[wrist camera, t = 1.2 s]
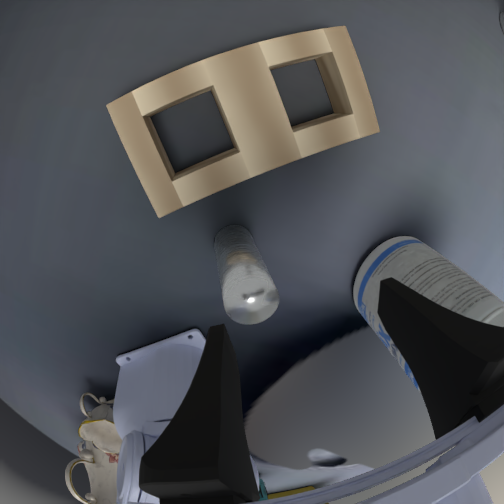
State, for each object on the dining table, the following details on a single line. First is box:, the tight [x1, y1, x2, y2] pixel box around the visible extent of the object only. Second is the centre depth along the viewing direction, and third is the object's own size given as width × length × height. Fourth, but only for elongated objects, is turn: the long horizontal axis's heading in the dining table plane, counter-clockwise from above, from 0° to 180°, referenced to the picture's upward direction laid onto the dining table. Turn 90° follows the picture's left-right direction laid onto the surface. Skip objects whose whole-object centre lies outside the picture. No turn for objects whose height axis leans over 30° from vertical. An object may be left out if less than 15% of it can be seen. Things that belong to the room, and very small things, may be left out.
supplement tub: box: [353, 236, 504, 393], centre depth 21 cm, size 10×10×15 cm
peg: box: [214, 225, 279, 324], centre depth 19 cm, size 3×3×8 cm
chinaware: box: [65, 392, 123, 504], centre depth 26 cm, size 28×17×17 cm, turn 20°
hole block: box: [106, 26, 380, 218], centre depth 17 cm, size 16×8×3 cm, turn 111°
